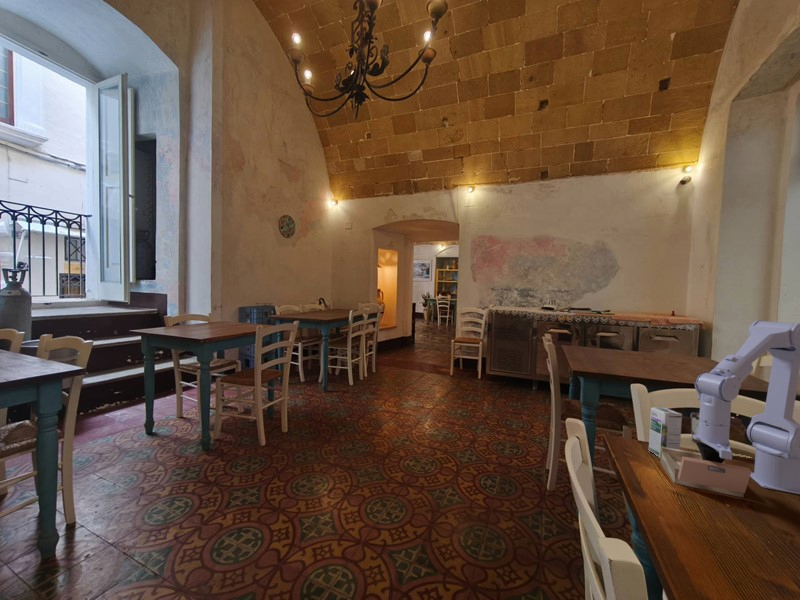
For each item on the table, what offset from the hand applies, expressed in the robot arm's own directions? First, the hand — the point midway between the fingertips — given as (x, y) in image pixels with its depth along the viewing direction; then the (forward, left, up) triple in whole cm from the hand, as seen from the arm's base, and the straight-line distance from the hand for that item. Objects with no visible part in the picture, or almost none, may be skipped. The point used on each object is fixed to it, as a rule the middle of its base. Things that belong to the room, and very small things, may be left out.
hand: (711, 474), depth 86 cm
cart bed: (0, -7, -5) cm, 9 cm away
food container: (-12, -33, -5) cm, 36 cm away
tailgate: (0, 0, -3) cm, 3 cm away
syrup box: (+5, -20, -5) cm, 21 cm away
